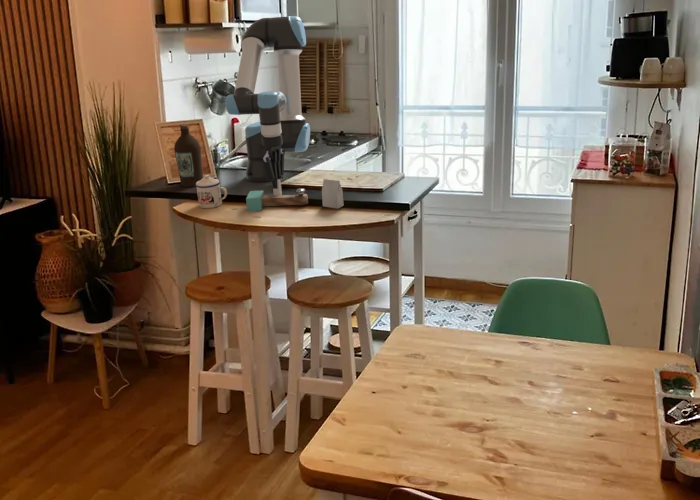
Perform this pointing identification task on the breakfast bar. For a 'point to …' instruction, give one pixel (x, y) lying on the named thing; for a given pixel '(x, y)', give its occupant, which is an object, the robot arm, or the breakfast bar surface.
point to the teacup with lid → (209, 192)
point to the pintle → (300, 191)
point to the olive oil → (188, 158)
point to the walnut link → (284, 200)
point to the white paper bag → (332, 194)
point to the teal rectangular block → (254, 201)
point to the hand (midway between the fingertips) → (277, 195)
